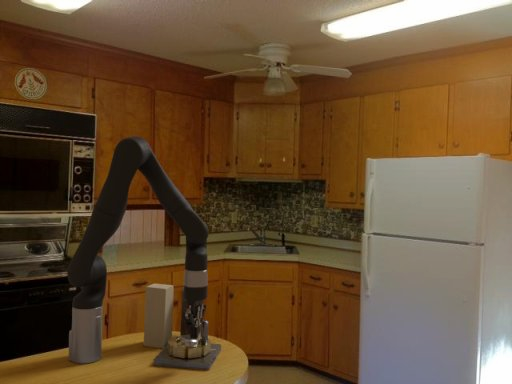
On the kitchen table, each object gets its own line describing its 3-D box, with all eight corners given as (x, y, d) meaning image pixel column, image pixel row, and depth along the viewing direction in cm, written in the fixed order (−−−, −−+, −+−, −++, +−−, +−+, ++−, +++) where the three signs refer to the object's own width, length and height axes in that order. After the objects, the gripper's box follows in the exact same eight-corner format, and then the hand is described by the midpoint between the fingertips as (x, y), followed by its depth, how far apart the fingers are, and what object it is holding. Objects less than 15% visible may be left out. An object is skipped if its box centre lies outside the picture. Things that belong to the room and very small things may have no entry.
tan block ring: (197, 360, 147) (198, 327, 147) (160, 353, 152) (161, 321, 152) (216, 347, 160) (217, 316, 160) (181, 341, 165) (182, 311, 165)
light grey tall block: (173, 342, 170) (174, 284, 170) (164, 348, 163) (165, 288, 163) (153, 339, 172) (154, 282, 172) (143, 346, 165) (144, 286, 165)
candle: (202, 343, 170) (204, 288, 170) (182, 345, 167) (184, 289, 167) (197, 336, 177) (198, 283, 177) (178, 338, 175) (179, 284, 174)
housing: (153, 365, 148) (154, 346, 148) (171, 346, 166) (171, 329, 166) (209, 370, 146) (209, 350, 146) (221, 349, 164) (221, 332, 164)
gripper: (197, 289, 140) (196, 346, 141) (214, 280, 153) (213, 333, 153) (175, 286, 143) (173, 343, 143) (193, 278, 155) (192, 330, 156)
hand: (194, 338), depth 148 cm, fingers closed
